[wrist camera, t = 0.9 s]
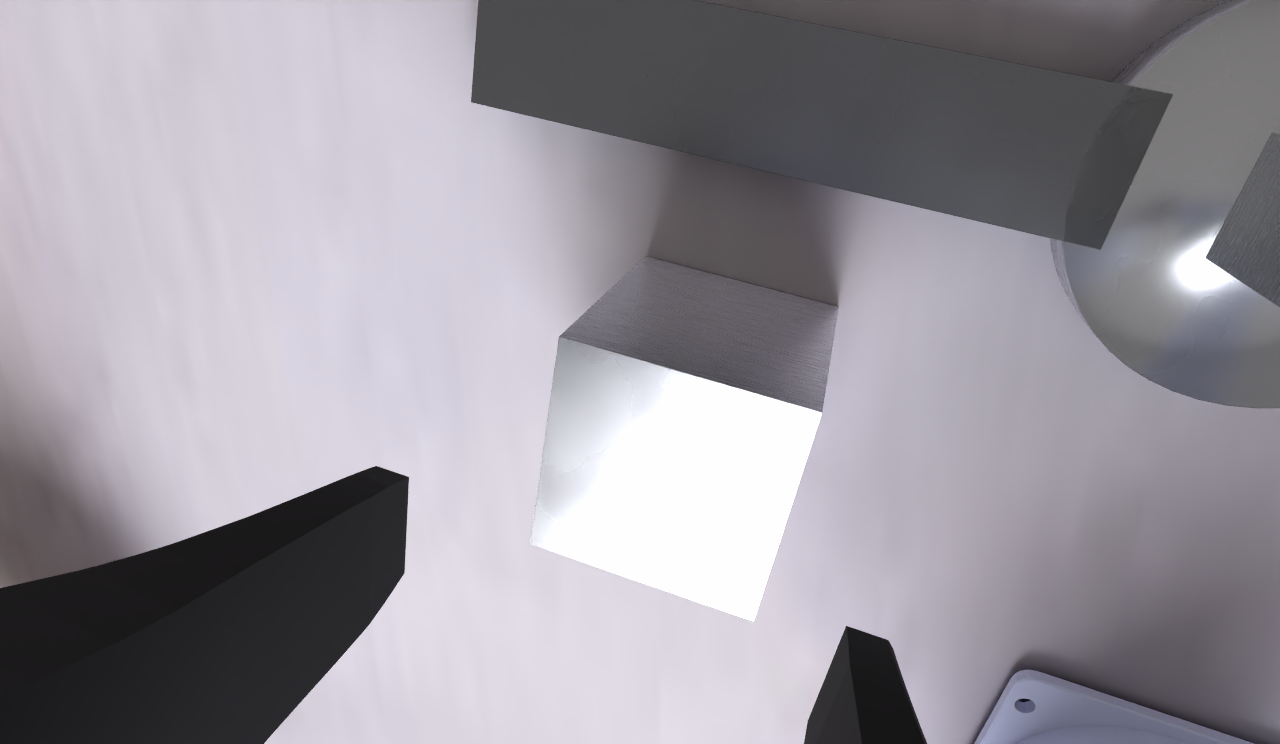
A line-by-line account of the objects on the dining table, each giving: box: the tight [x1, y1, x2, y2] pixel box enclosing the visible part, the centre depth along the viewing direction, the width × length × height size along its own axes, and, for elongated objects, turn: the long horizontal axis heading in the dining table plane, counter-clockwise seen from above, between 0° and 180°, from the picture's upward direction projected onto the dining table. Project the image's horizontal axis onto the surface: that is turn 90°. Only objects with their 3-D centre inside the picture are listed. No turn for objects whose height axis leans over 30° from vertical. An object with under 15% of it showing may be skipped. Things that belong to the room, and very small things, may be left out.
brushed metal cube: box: [530, 256, 838, 621], centre depth 17 cm, size 5×5×6 cm
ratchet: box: [471, 0, 1280, 408], centre depth 14 cm, size 8×21×5 cm, turn 80°
